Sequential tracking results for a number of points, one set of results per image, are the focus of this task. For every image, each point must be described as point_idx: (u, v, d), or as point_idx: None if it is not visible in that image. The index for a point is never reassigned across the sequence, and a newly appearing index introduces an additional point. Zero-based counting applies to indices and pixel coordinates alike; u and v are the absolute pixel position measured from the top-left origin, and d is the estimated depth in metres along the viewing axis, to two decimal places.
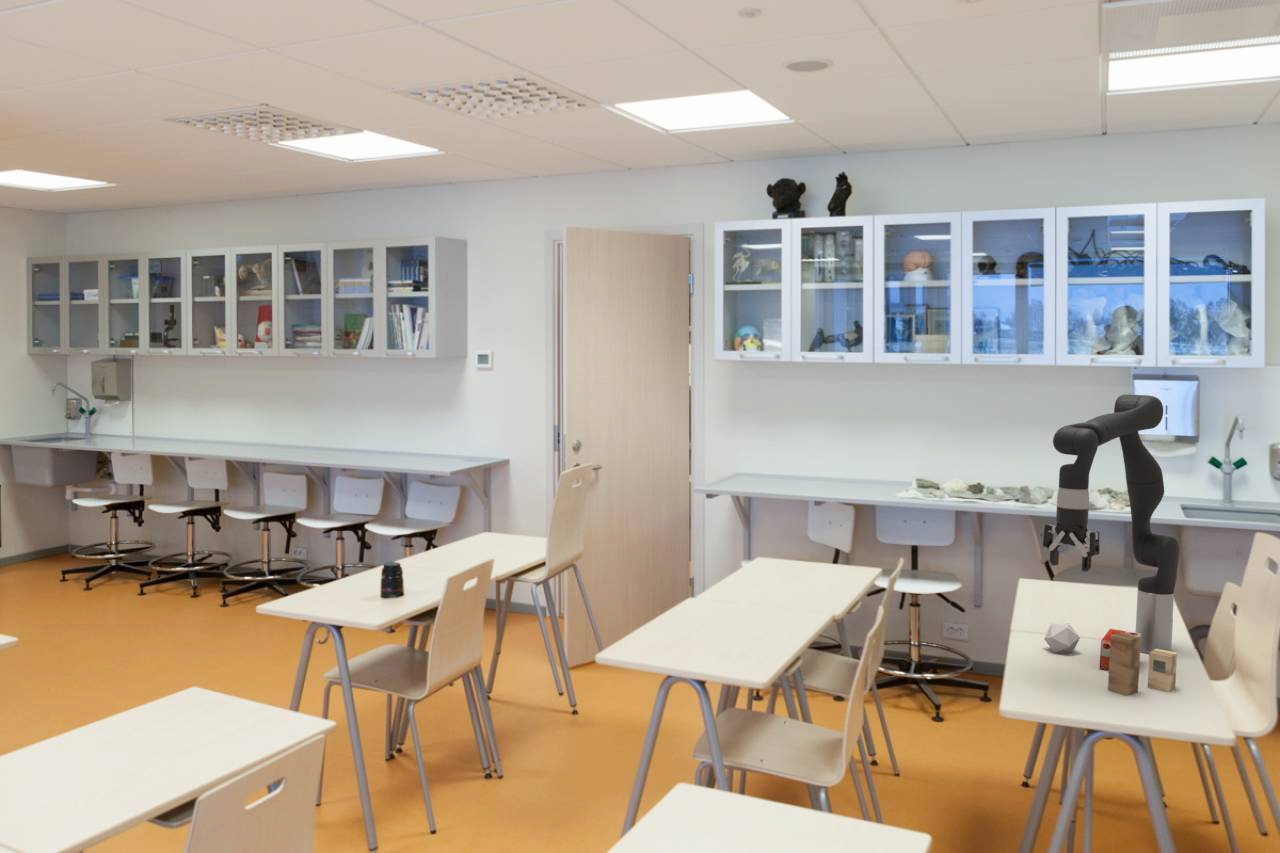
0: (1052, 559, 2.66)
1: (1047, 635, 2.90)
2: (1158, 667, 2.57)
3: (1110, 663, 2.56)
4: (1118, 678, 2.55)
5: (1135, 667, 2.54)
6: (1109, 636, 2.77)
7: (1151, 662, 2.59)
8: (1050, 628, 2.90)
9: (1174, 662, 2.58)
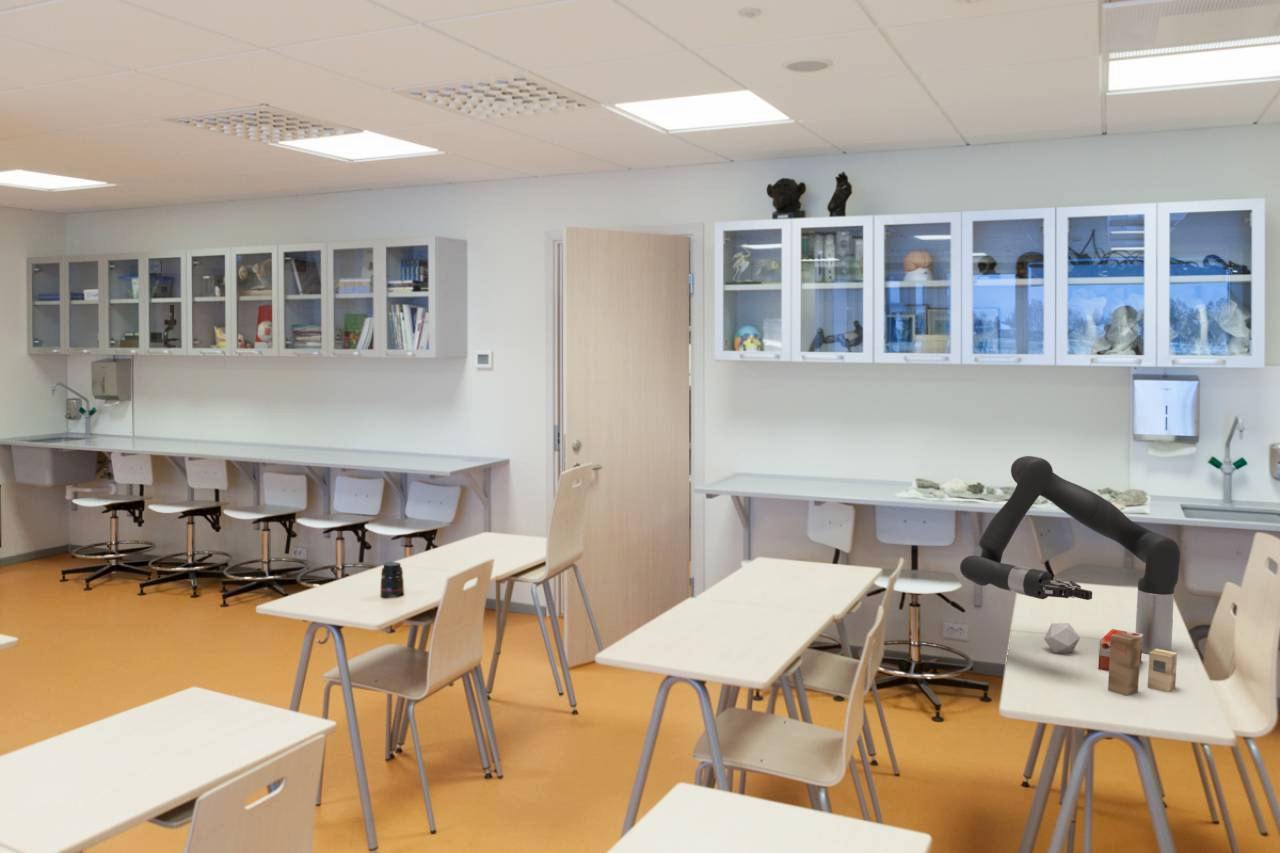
0: None
1: (1047, 635, 2.90)
2: (1158, 667, 2.57)
3: (1110, 663, 2.56)
4: (1118, 678, 2.55)
5: (1135, 667, 2.54)
6: (1109, 636, 2.77)
7: (1151, 662, 2.59)
8: (1050, 628, 2.90)
9: (1174, 662, 2.58)
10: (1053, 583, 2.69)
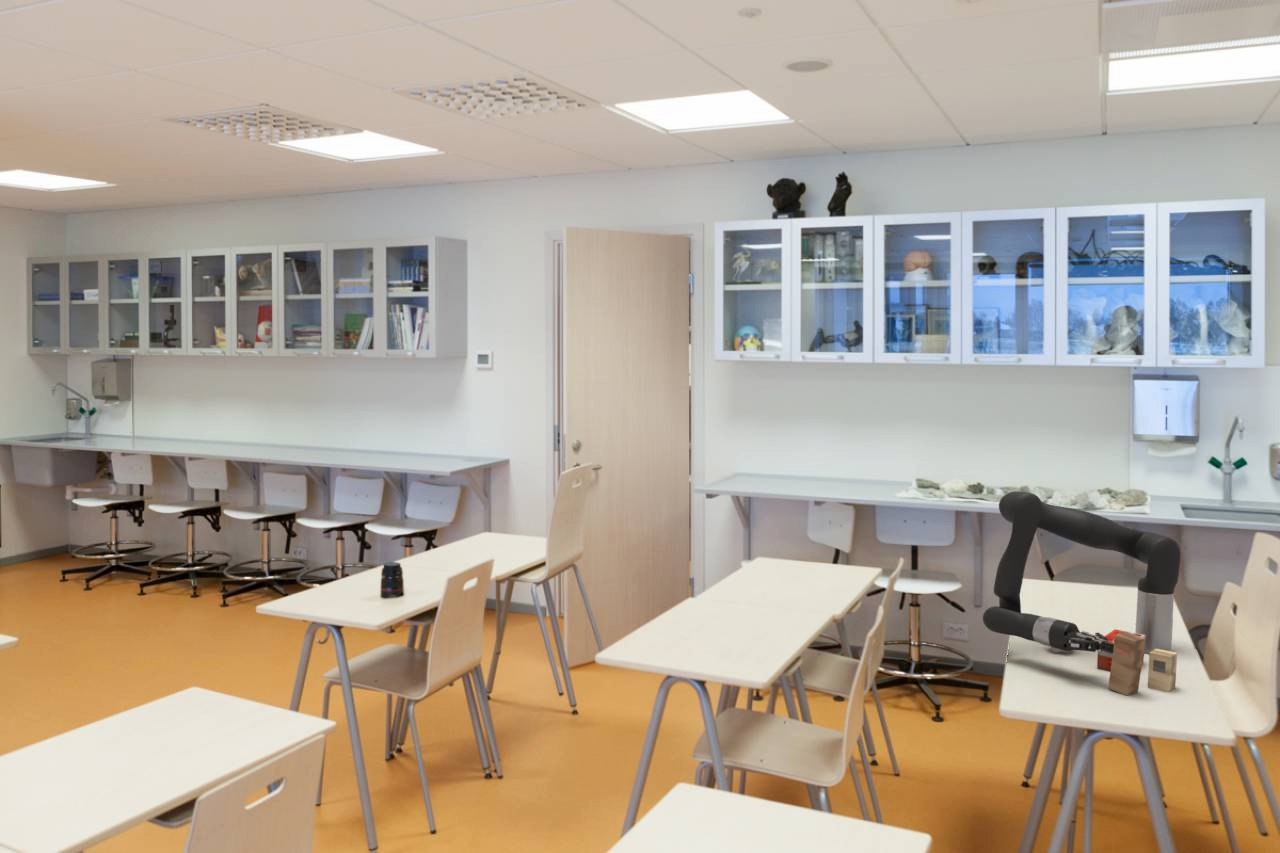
0: None
1: None
2: (1158, 667, 2.57)
3: (1113, 662, 2.56)
4: (1119, 678, 2.54)
5: (1137, 667, 2.54)
6: (1109, 636, 2.77)
7: (1151, 662, 2.59)
8: None
9: (1174, 662, 2.58)
10: (1079, 636, 2.63)
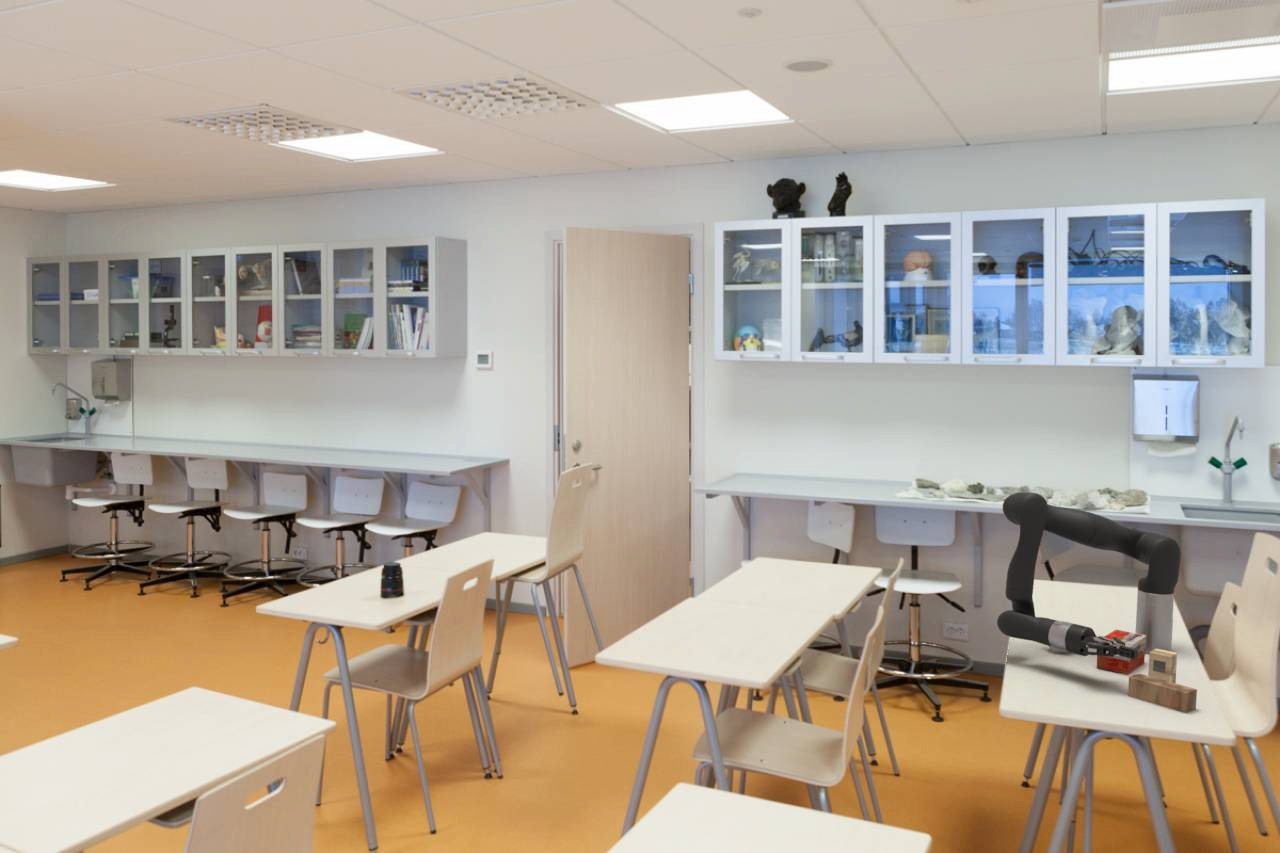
0: None
1: None
2: (1158, 667, 2.57)
3: (1156, 686, 2.47)
4: (1142, 691, 2.50)
5: None
6: (1110, 636, 2.77)
7: (1151, 662, 2.59)
8: None
9: (1174, 662, 2.58)
10: (1096, 640, 2.60)
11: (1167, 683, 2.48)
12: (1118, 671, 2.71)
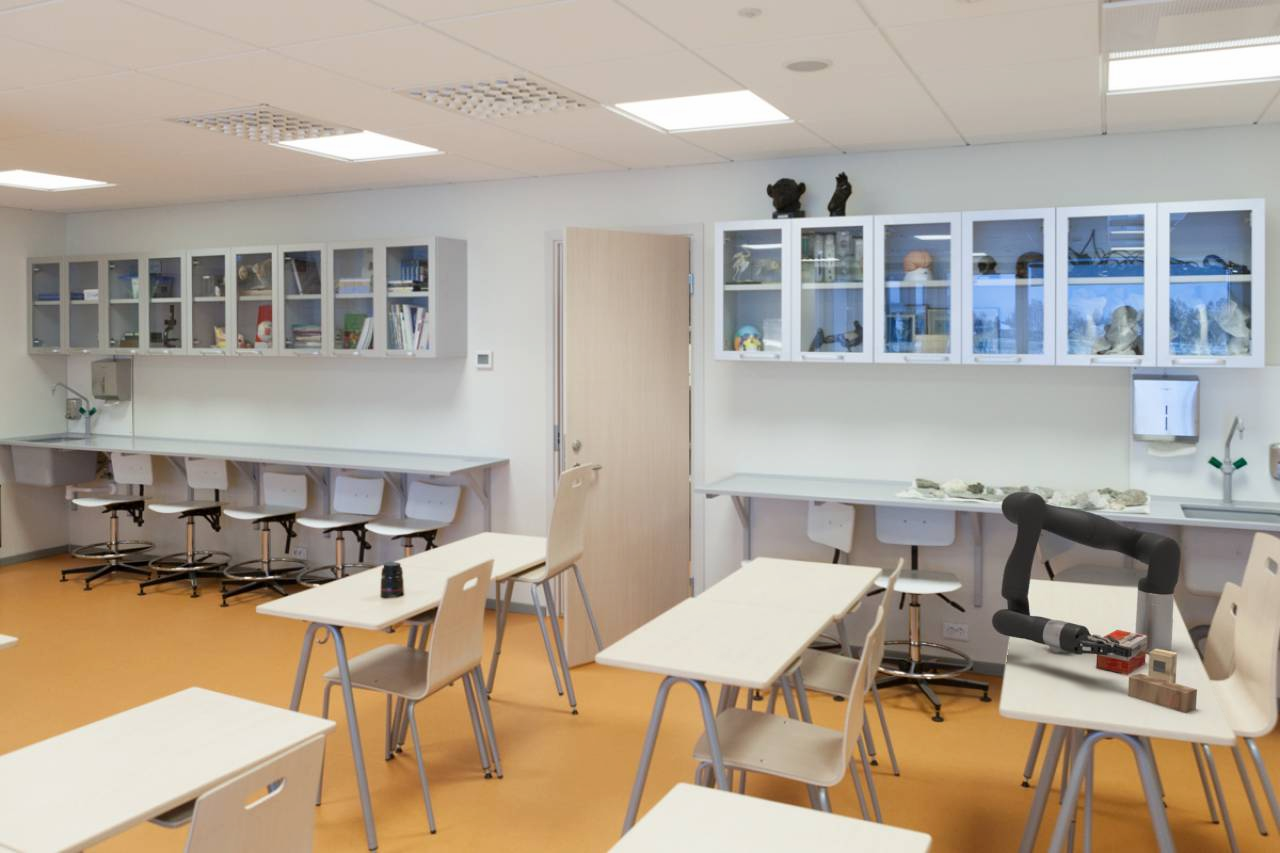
0: None
1: None
2: (1158, 667, 2.57)
3: (1156, 686, 2.47)
4: (1142, 691, 2.50)
5: None
6: None
7: (1151, 662, 2.59)
8: None
9: (1174, 662, 2.58)
10: (1091, 639, 2.61)
11: (1167, 683, 2.48)
12: (1117, 671, 2.71)
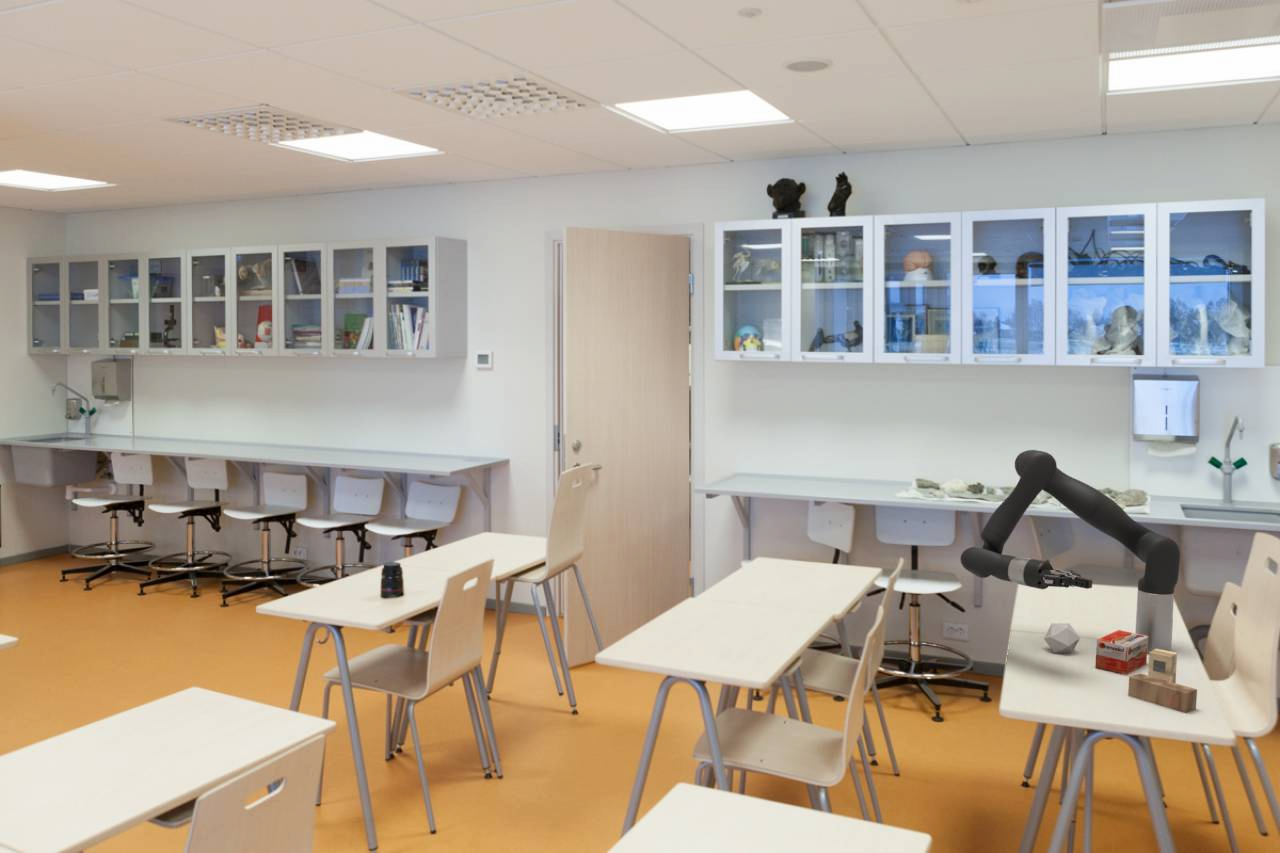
0: None
1: (1047, 635, 2.90)
2: (1158, 667, 2.57)
3: (1156, 686, 2.47)
4: (1142, 691, 2.50)
5: None
6: (1110, 636, 2.77)
7: (1151, 662, 2.59)
8: (1050, 628, 2.90)
9: (1174, 662, 2.58)
10: (1053, 573, 2.69)
11: (1167, 683, 2.48)
12: (1116, 671, 2.71)
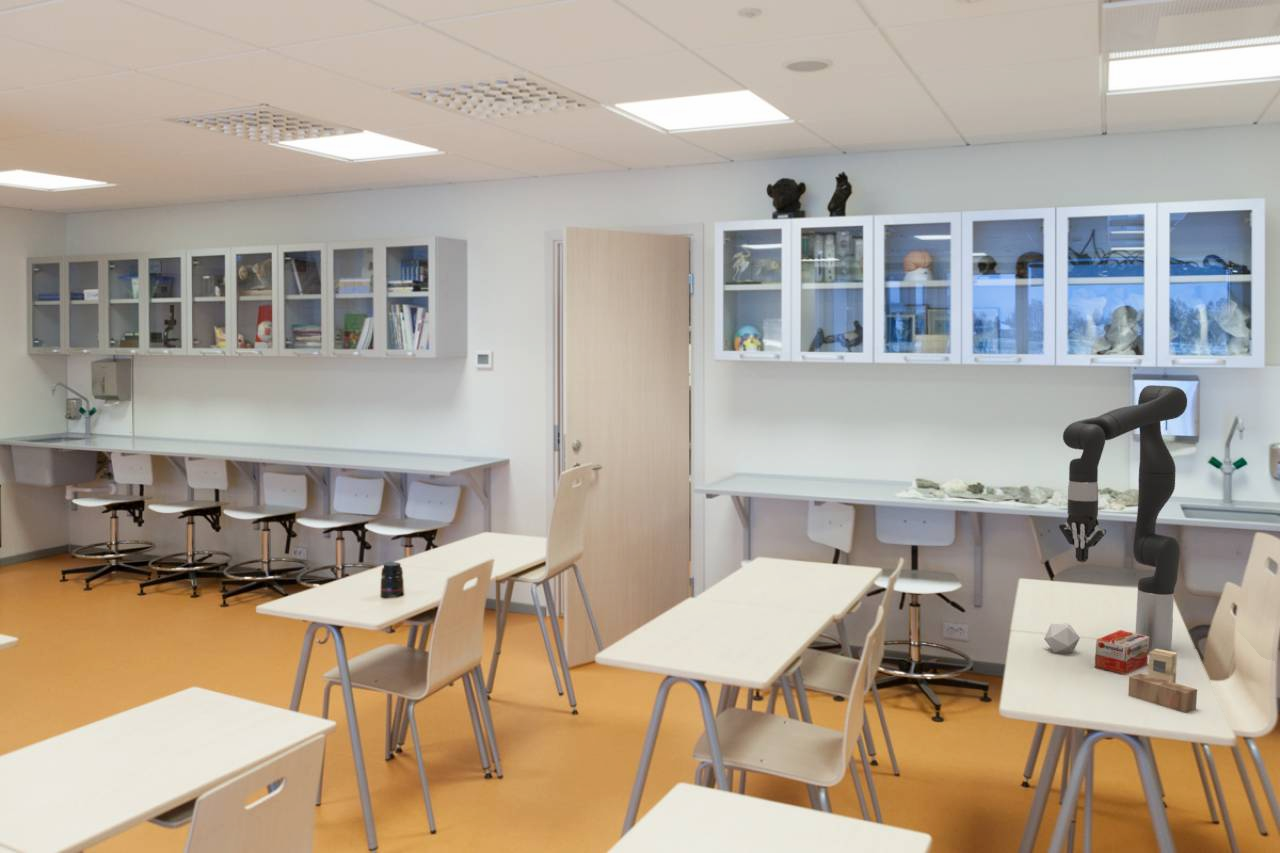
0: (1078, 555, 2.76)
1: (1047, 635, 2.90)
2: (1158, 667, 2.57)
3: (1156, 686, 2.47)
4: (1143, 691, 2.50)
5: None
6: (1110, 636, 2.77)
7: (1151, 662, 2.59)
8: (1050, 628, 2.90)
9: (1174, 662, 2.58)
10: None
11: (1167, 683, 2.48)
12: (1115, 671, 2.71)
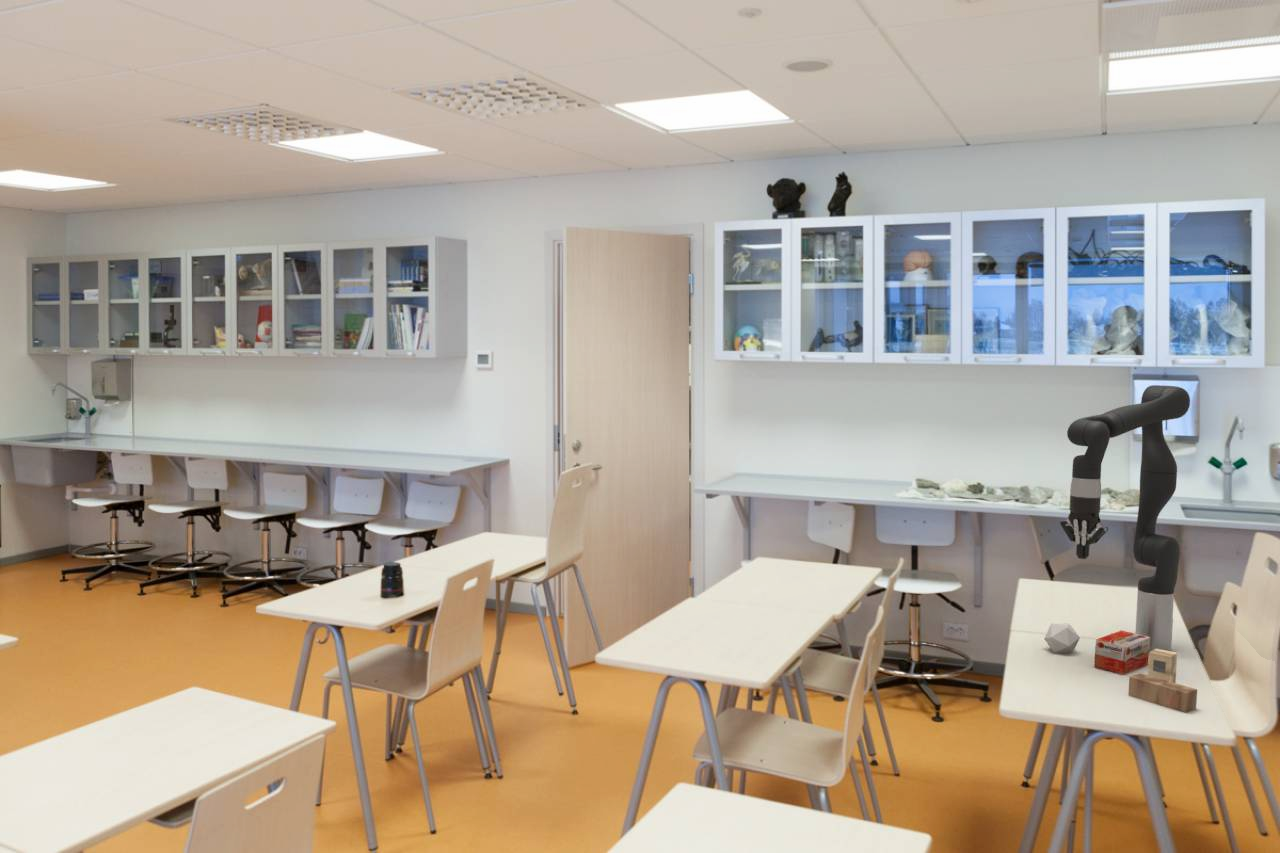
0: (1079, 552, 2.75)
1: (1047, 635, 2.90)
2: (1158, 667, 2.57)
3: (1156, 686, 2.47)
4: (1143, 690, 2.50)
5: None
6: (1110, 636, 2.77)
7: (1151, 662, 2.59)
8: (1050, 628, 2.90)
9: (1174, 662, 2.58)
10: None
11: (1167, 683, 2.48)
12: (1115, 671, 2.71)
